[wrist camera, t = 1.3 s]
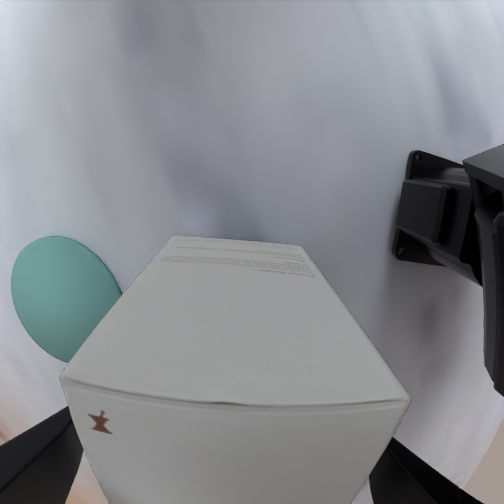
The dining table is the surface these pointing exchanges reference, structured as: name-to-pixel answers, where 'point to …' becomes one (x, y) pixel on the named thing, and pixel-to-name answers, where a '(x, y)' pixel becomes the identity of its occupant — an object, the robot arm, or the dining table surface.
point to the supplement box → (231, 383)
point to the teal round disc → (61, 294)
